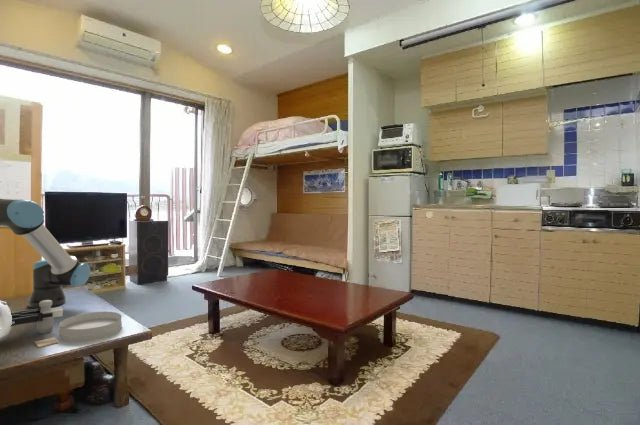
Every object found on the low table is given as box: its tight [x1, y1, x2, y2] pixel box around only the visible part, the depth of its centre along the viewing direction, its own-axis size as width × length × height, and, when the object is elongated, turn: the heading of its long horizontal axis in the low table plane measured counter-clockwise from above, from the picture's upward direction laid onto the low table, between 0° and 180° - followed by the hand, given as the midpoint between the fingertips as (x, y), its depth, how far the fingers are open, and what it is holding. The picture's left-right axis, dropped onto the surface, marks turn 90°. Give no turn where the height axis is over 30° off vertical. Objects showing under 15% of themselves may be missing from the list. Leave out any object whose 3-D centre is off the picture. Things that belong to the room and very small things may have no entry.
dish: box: [58, 311, 123, 342], centre depth 143 cm, size 22×22×5 cm
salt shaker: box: [35, 300, 55, 334], centre depth 140 cm, size 6×6×13 cm
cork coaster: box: [34, 337, 59, 349], centre depth 129 cm, size 6×6×1 cm
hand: (62, 311), depth 143 cm, fingers closed on salt shaker, 3 cm apart
